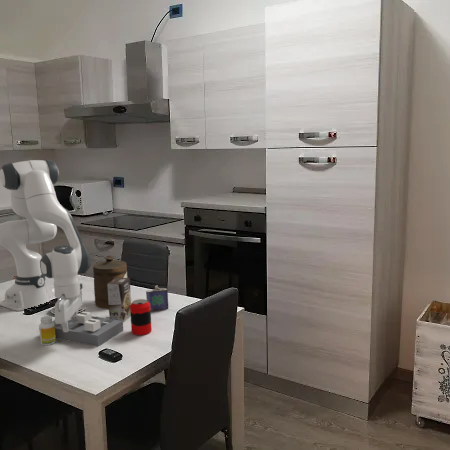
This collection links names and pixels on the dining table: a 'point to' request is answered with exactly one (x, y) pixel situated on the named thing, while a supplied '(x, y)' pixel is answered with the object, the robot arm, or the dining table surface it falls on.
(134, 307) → the soda can
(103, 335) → the switch panel
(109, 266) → the wooden container
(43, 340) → the supplement bottle
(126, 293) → the coffee box
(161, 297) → the flask
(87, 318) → the slider
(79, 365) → the dining table surface
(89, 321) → the slider
